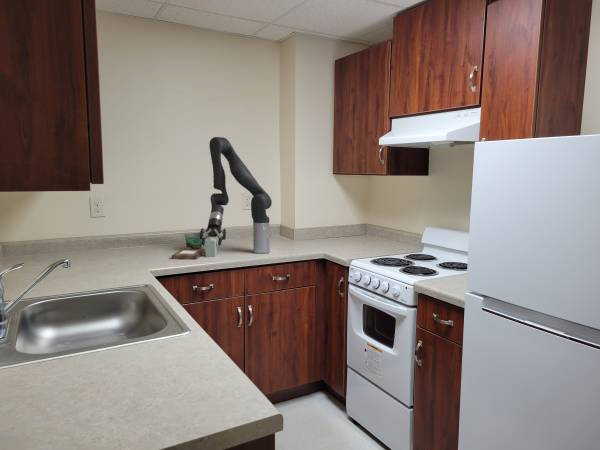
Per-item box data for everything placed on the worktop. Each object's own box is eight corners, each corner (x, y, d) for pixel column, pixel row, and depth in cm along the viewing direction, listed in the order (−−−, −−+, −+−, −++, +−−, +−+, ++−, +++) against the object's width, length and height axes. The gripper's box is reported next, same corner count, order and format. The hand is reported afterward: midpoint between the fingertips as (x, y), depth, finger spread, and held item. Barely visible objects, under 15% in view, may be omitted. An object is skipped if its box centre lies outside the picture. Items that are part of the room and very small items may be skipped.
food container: (191, 251, 257) (191, 234, 256) (184, 250, 261) (184, 233, 259) (208, 248, 267) (207, 231, 265) (201, 247, 270) (200, 230, 269)
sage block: (217, 255, 248) (216, 237, 246) (214, 257, 243) (214, 239, 241) (208, 255, 248) (207, 237, 247) (205, 257, 243) (205, 239, 242)
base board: (204, 252, 254) (204, 248, 254) (196, 259, 237) (196, 255, 236) (181, 252, 255) (181, 248, 255) (171, 259, 237) (171, 255, 237)
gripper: (201, 217, 252) (196, 240, 242) (226, 217, 251) (222, 241, 242) (204, 225, 258) (199, 248, 248) (228, 225, 257) (225, 249, 248)
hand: (211, 245), depth 245 cm, fingers open, 8 cm apart
